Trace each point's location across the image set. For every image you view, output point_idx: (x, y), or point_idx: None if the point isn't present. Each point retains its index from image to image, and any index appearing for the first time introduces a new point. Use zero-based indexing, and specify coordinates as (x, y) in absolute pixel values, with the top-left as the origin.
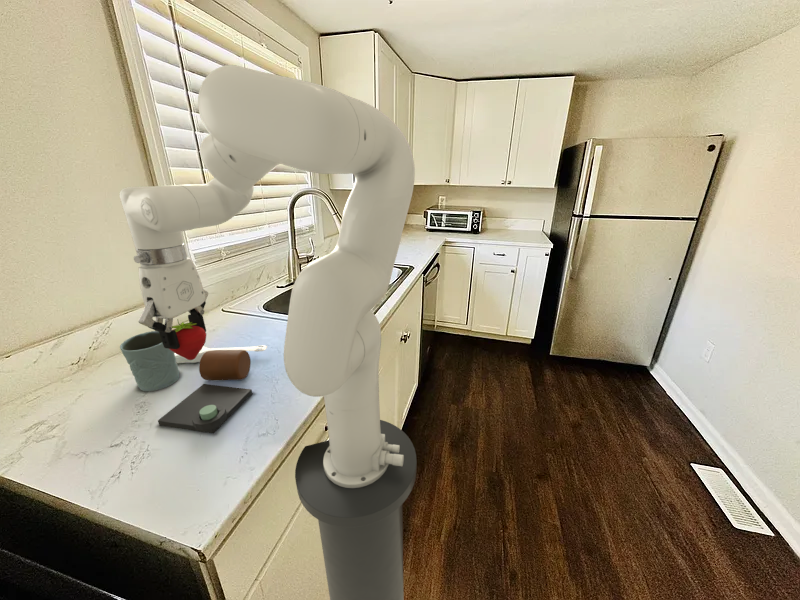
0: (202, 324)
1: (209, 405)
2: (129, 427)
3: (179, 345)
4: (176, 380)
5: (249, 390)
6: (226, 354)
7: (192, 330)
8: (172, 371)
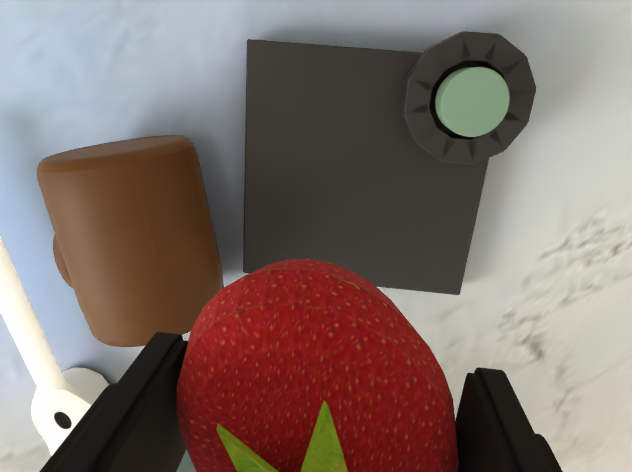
0: (142, 391)
1: (445, 114)
2: (460, 365)
3: (476, 379)
4: None
5: (257, 43)
6: (117, 233)
7: (322, 396)
8: None
